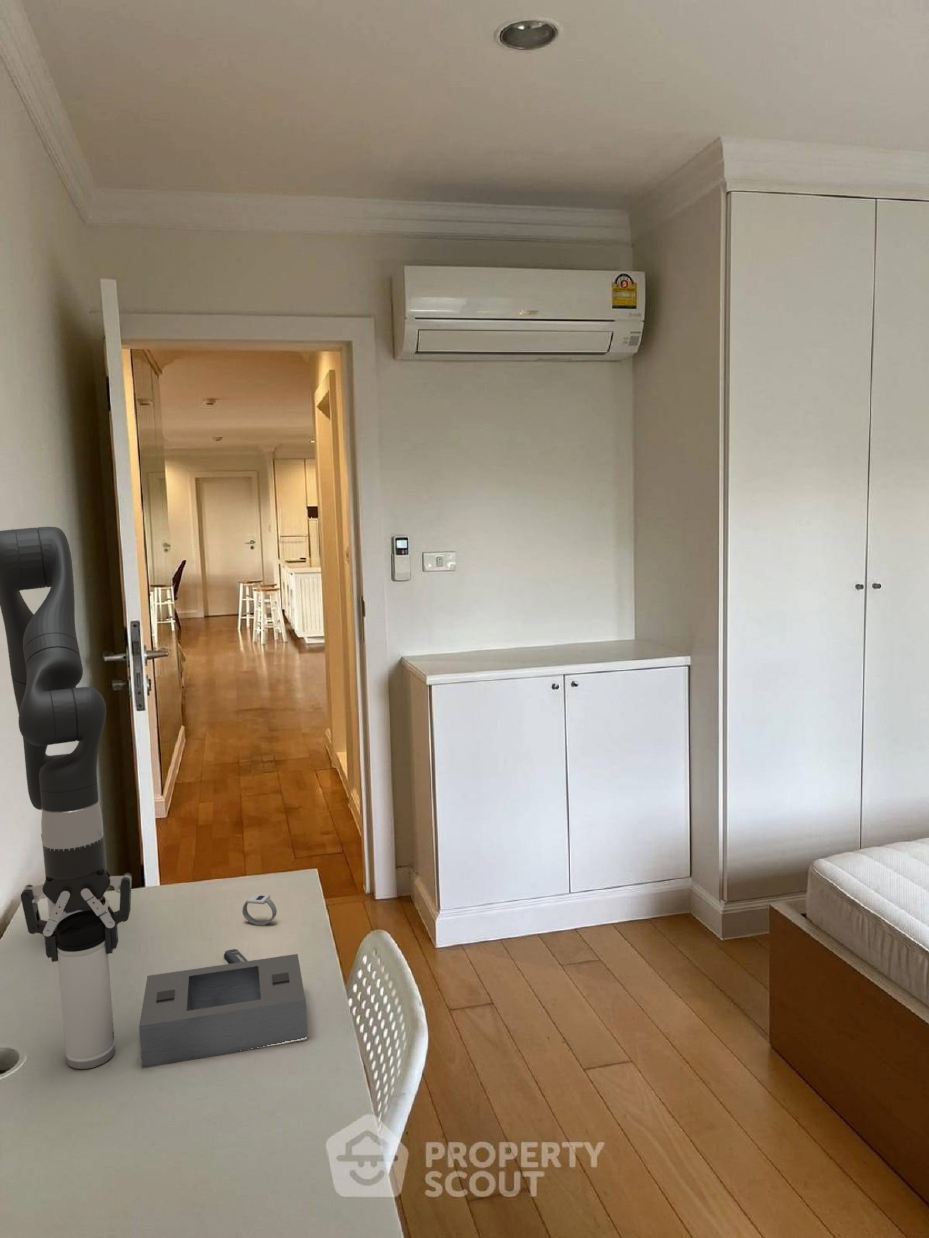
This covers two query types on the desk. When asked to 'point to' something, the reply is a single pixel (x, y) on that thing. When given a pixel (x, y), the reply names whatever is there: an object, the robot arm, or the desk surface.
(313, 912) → the desk surface
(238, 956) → the usb stick
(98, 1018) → the travel mug
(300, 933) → the desk surface
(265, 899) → the wristwatch
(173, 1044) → the grey slotted block
